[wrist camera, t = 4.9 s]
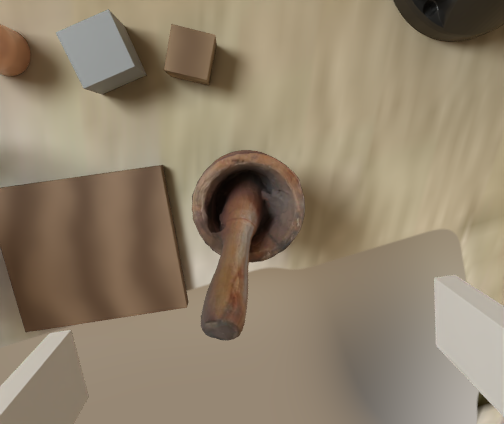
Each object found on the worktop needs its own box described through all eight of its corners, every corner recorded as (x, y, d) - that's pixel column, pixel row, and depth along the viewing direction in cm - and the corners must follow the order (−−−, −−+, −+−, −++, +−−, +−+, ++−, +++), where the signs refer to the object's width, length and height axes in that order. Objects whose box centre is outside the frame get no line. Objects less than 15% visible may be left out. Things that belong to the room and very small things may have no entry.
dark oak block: (216, 45, 37) (215, 35, 34) (209, 85, 38) (206, 79, 34) (177, 35, 37) (171, 23, 33) (170, 76, 38) (164, 69, 34)
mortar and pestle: (282, 247, 42) (328, 344, 23) (207, 251, 42) (188, 353, 22) (280, 145, 40) (330, 155, 20) (200, 148, 39) (172, 161, 20)
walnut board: (162, 164, 39) (160, 166, 38) (188, 301, 43) (186, 307, 41) (-7, 188, 39) (-17, 190, 37) (32, 325, 42) (25, 332, 41)
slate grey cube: (124, 25, 37) (108, 9, 32) (146, 75, 38) (134, 66, 33) (78, 46, 37) (55, 32, 32) (102, 94, 38) (83, 88, 33)
